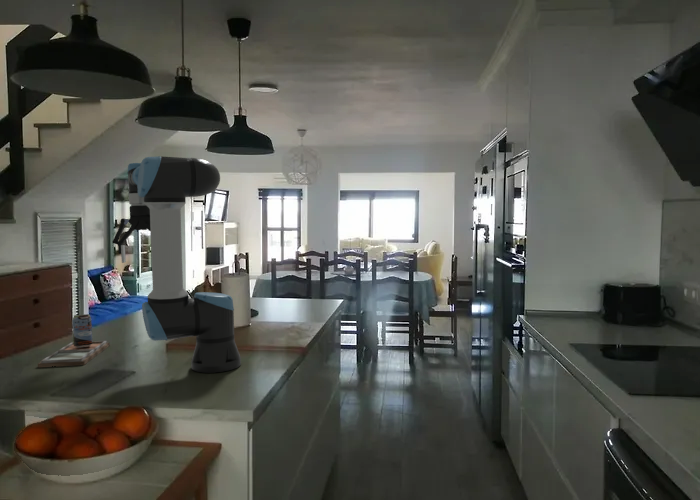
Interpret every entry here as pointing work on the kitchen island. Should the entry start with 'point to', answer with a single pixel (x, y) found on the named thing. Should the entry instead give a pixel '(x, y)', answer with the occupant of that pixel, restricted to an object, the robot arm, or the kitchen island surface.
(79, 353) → the framed panel board
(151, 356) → the kitchen island surface
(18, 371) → the kitchen island surface
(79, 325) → the beverage can
